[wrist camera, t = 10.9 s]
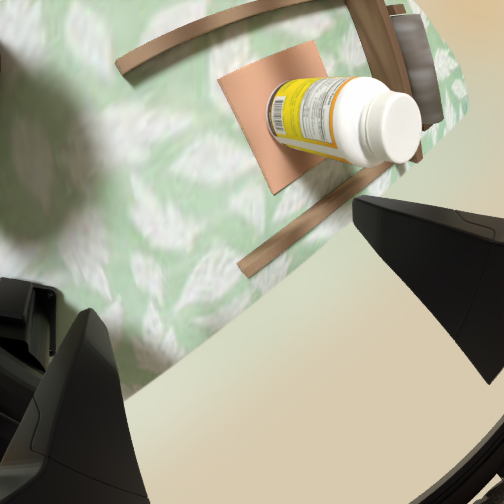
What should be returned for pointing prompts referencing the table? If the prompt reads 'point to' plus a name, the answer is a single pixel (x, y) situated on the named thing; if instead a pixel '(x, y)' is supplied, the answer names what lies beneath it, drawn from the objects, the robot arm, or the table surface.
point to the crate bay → (311, 66)
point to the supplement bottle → (345, 120)
